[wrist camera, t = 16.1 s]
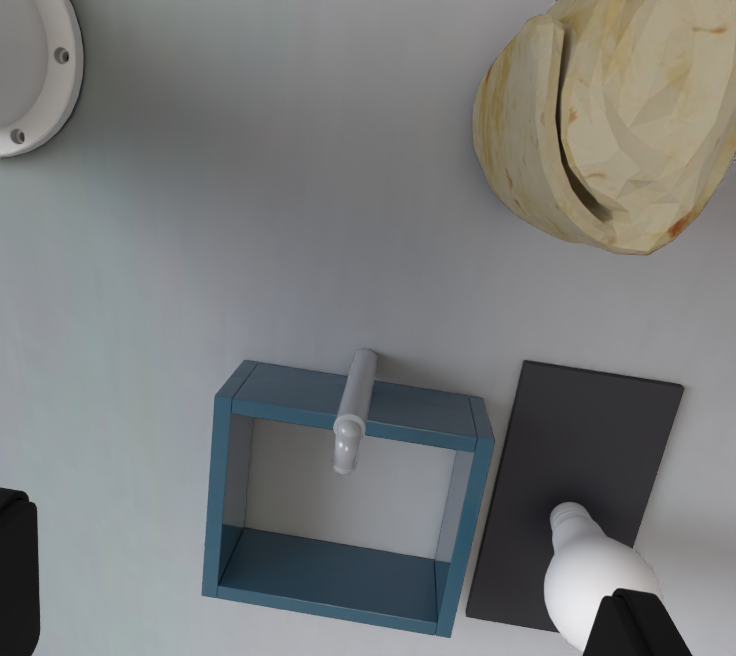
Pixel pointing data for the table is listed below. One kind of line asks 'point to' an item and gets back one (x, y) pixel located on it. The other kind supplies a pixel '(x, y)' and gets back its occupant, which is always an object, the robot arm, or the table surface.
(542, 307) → the table surface
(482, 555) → the mat
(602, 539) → the lightbulb
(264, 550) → the sink
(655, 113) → the food model
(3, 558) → the robot arm
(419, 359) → the table surface
